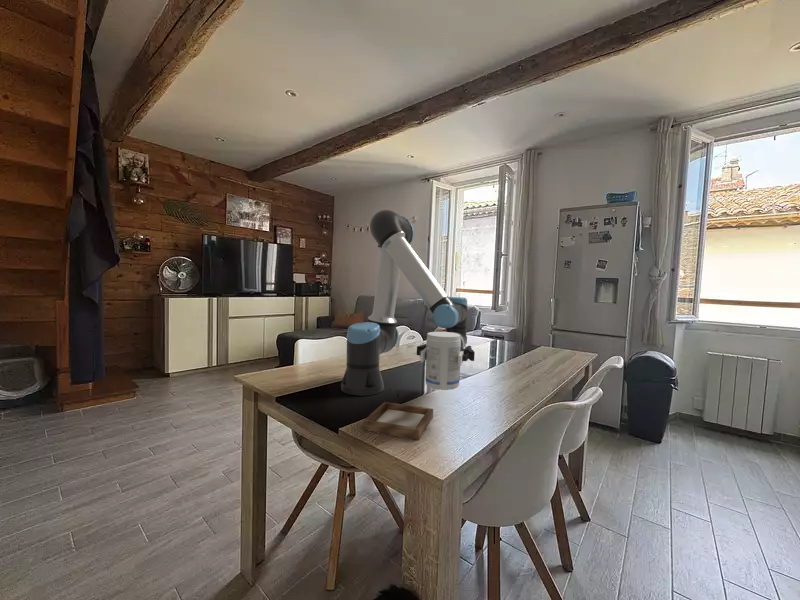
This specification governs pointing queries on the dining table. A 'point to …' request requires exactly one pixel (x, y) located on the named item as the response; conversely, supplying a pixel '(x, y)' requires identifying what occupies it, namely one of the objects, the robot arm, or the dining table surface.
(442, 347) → the supplement tub
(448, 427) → the dining table surface
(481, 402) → the dining table surface
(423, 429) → the holder tray
